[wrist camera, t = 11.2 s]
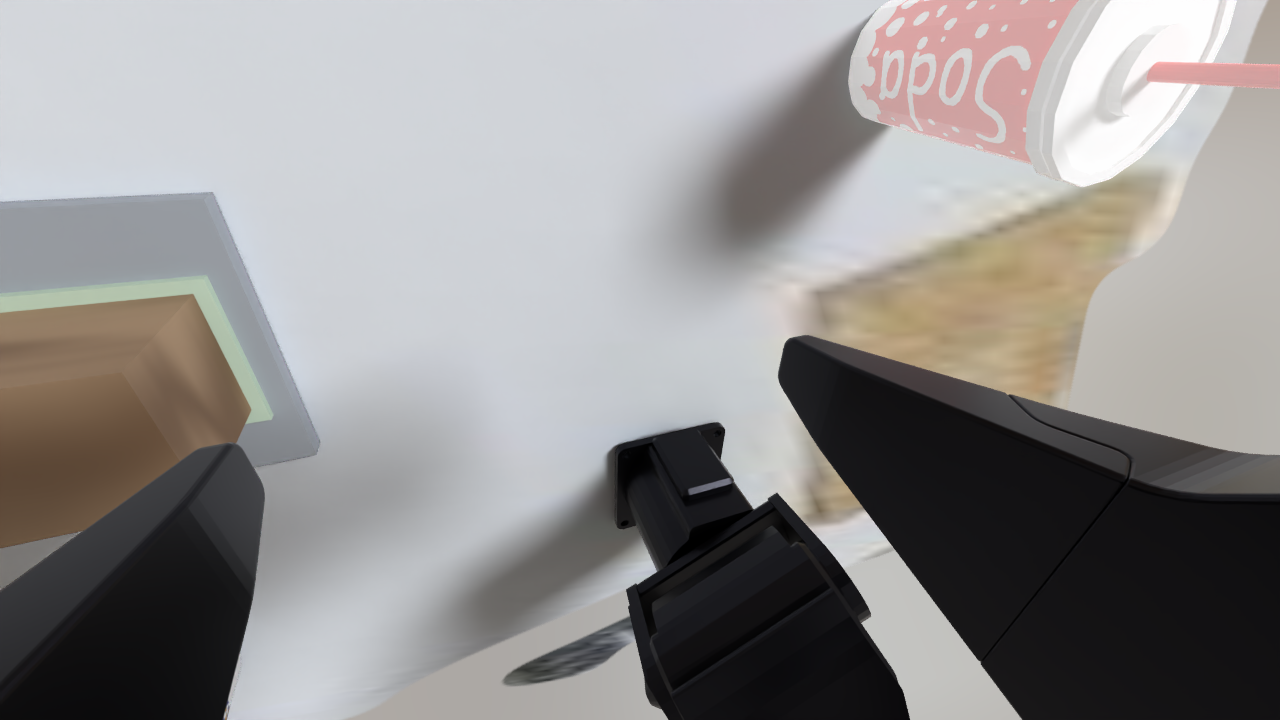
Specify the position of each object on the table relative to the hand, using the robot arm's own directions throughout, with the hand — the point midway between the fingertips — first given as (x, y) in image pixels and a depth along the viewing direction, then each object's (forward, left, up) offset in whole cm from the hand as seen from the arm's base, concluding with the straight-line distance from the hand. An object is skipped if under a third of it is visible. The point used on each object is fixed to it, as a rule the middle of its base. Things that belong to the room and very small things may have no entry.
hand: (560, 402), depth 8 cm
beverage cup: (+5, -17, -12) cm, 22 cm away
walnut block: (-4, +11, -11) cm, 16 cm away
